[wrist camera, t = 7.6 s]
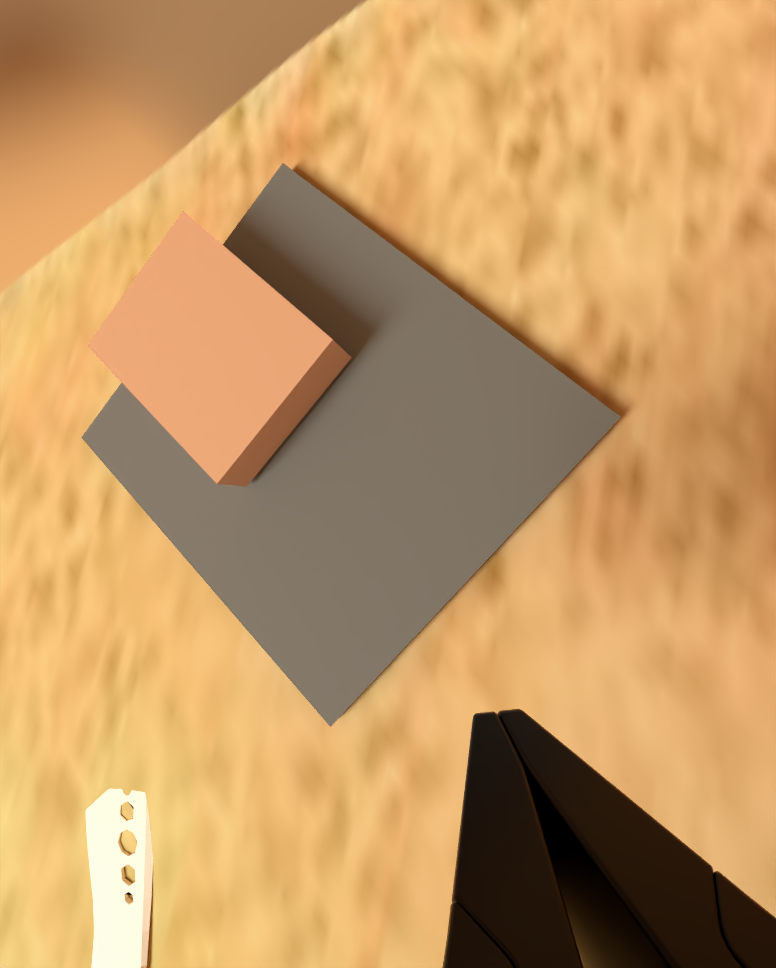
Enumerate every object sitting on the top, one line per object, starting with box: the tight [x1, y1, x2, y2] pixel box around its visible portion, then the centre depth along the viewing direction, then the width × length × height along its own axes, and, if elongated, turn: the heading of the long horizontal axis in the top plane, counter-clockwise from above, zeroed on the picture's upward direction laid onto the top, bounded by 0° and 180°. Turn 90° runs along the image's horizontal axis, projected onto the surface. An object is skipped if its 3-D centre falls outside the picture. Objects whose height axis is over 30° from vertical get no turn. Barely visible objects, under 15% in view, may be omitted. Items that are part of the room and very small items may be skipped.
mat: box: [82, 164, 621, 727], centre depth 19 cm, size 18×16×1 cm
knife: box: [86, 789, 153, 968], centre depth 21 cm, size 30×2×8 cm
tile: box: [87, 211, 352, 487], centre depth 19 cm, size 2×7×9 cm
